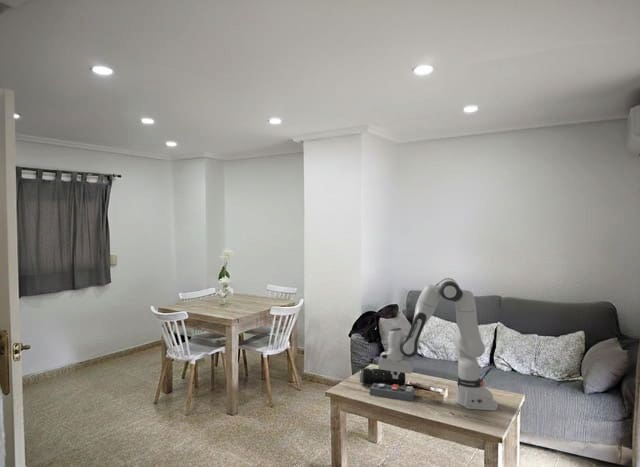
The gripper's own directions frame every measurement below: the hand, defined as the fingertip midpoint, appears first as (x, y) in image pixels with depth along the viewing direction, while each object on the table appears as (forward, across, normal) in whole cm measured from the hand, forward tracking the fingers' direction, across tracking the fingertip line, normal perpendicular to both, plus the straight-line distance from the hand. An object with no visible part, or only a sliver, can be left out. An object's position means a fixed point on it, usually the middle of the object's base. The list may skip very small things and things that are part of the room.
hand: (395, 378), depth 246 cm
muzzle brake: (+10, +11, -13) cm, 20 cm away
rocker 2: (+5, -8, +1) cm, 10 cm away
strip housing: (+10, +2, +1) cm, 10 cm away
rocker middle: (+5, 0, +1) cm, 5 cm away
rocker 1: (+5, +8, +1) cm, 10 cm away
